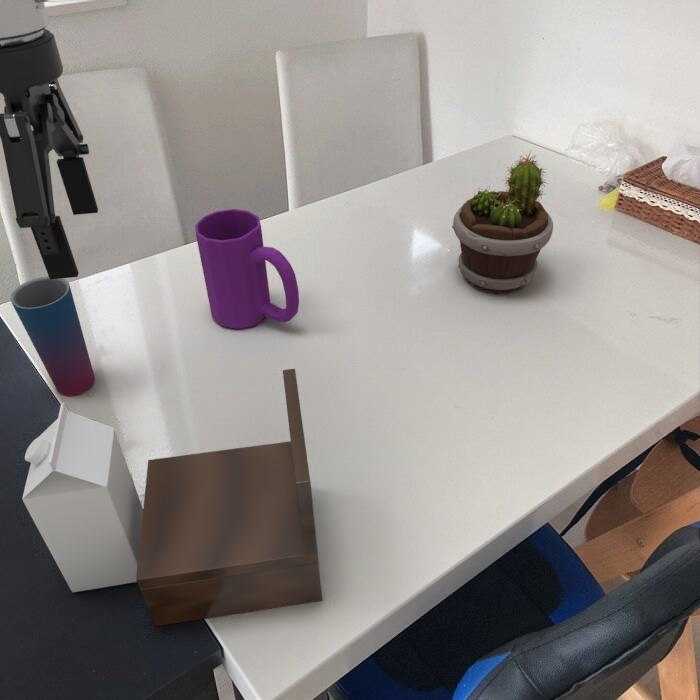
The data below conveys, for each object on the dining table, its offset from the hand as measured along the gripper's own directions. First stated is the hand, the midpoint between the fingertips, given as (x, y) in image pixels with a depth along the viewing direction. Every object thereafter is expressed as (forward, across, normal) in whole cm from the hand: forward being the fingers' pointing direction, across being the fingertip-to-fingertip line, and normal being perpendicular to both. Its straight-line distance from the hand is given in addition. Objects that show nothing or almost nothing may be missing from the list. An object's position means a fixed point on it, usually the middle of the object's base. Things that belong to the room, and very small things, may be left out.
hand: (76, 242), depth 74 cm
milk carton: (+24, -24, -1) cm, 34 cm away
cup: (+24, +4, +7) cm, 25 cm away
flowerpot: (+24, +19, -56) cm, 63 cm away
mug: (+24, +14, -18) cm, 33 cm away
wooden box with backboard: (+23, -26, -14) cm, 38 cm away
